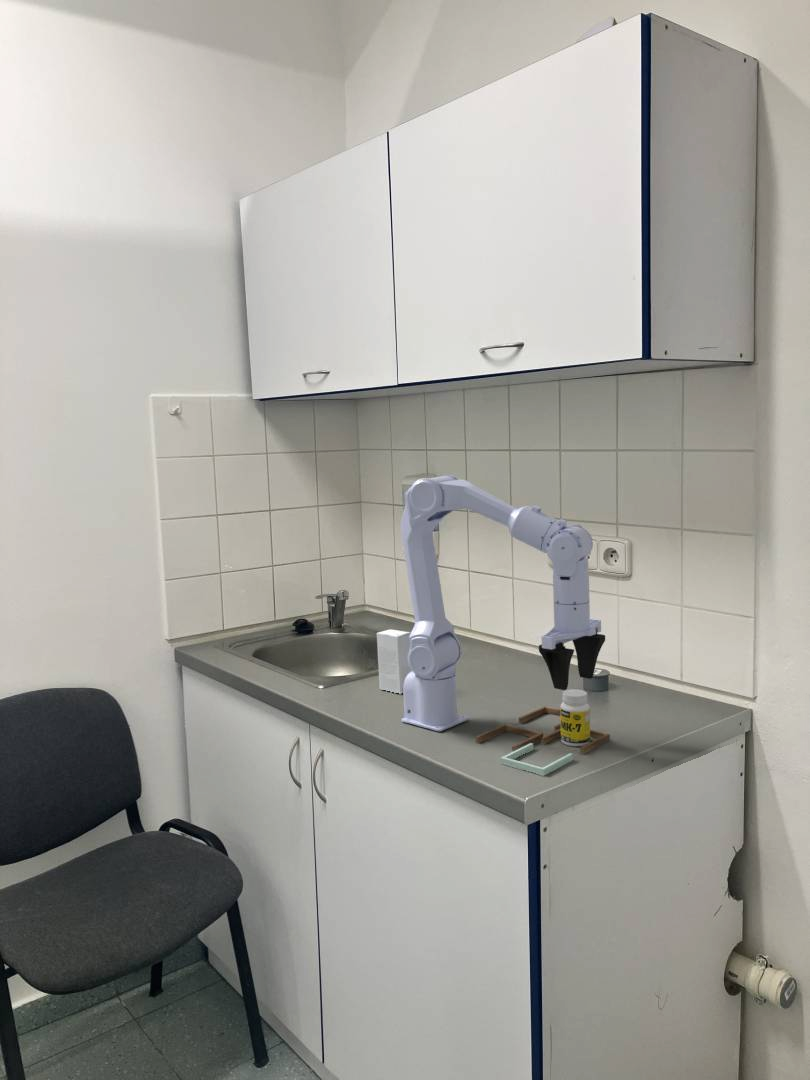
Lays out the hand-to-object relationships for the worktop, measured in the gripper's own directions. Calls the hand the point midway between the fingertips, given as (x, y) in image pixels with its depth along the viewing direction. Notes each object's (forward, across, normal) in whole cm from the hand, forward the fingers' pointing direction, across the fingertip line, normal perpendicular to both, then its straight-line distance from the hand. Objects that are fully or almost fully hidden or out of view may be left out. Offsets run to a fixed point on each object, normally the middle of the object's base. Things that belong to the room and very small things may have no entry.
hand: (573, 683), depth 144 cm
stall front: (+10, 0, 0) cm, 10 cm away
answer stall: (+10, -11, 0) cm, 15 cm away
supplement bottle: (+10, 0, 0) cm, 10 cm away
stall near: (+10, -6, +9) cm, 15 cm away
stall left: (+10, +6, +9) cm, 15 cm away
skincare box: (+10, +4, +45) cm, 46 cm away
